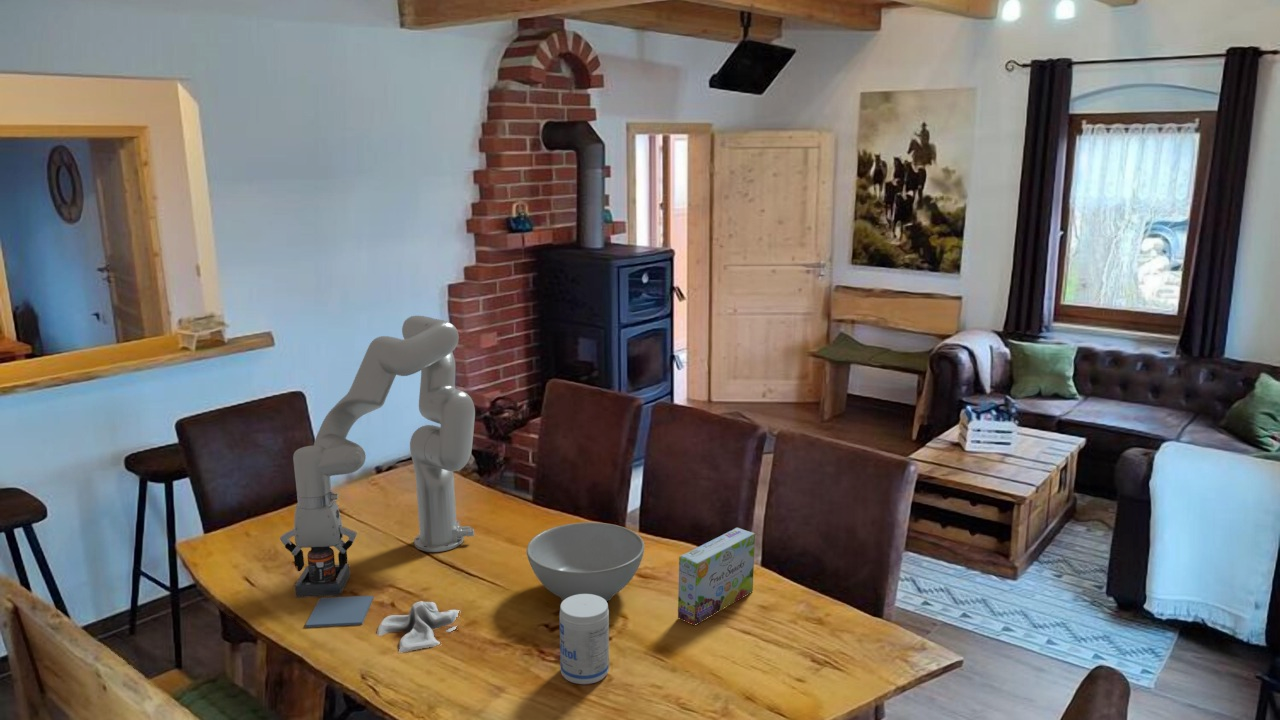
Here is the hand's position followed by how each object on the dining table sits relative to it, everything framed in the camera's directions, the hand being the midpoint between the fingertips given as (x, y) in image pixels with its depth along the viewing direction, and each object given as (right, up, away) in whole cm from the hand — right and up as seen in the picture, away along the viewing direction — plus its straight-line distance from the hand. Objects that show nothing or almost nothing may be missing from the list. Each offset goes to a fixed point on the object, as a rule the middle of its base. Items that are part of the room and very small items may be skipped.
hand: (321, 567), depth 214 cm
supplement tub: (+64, -13, -35) cm, 74 cm away
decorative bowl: (+63, -5, -4) cm, 63 cm away
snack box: (+92, -7, -10) cm, 93 cm away
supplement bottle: (0, -5, +1) cm, 5 cm away
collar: (0, -5, +1) cm, 5 cm away
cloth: (+29, -9, -16) cm, 34 cm away
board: (+8, -7, -11) cm, 16 cm away
